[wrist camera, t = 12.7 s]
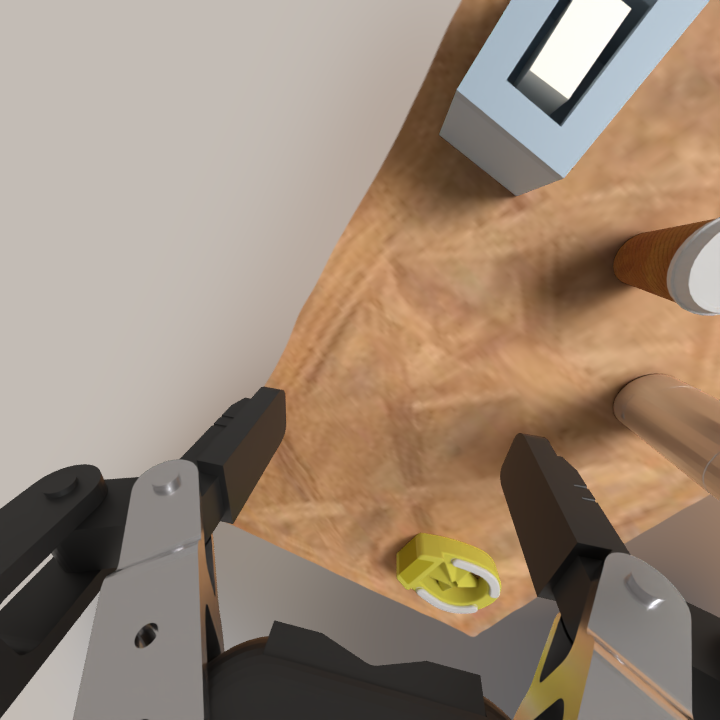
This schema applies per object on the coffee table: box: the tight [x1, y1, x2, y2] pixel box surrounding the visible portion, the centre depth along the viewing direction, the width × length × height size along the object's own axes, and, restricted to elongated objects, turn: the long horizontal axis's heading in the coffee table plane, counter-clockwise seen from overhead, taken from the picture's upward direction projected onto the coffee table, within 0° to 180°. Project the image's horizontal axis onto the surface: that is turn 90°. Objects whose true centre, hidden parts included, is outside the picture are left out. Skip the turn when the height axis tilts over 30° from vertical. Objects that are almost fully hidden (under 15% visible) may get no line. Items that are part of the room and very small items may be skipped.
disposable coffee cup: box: [613, 217, 720, 316], centre depth 31 cm, size 10×10×12 cm
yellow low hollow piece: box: [396, 533, 501, 614], centre depth 60 cm, size 16×21×5 cm
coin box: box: [439, 0, 709, 196], centre depth 27 cm, size 14×12×11 cm
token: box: [513, 0, 631, 116], centre depth 27 cm, size 6×4×10 cm, turn 150°
